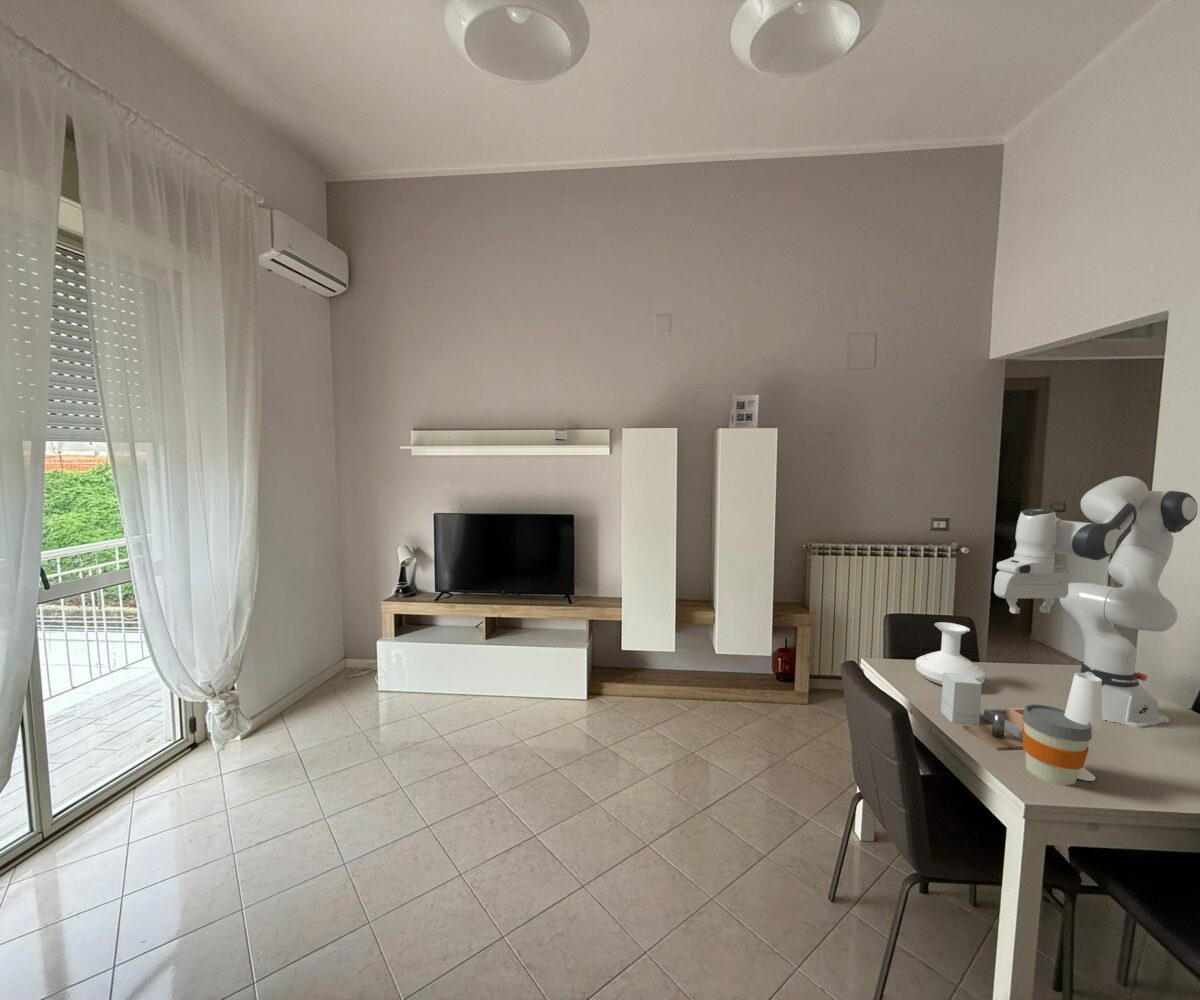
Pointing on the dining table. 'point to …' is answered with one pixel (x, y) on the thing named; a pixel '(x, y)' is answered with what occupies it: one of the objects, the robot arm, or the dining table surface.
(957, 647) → the candle holder
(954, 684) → the supplement box
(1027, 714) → the reusable coffee cup
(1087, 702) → the champagne flute
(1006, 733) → the stake board
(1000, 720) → the cylinder
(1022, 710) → the collar
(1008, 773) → the dining table surface
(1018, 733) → the tray
